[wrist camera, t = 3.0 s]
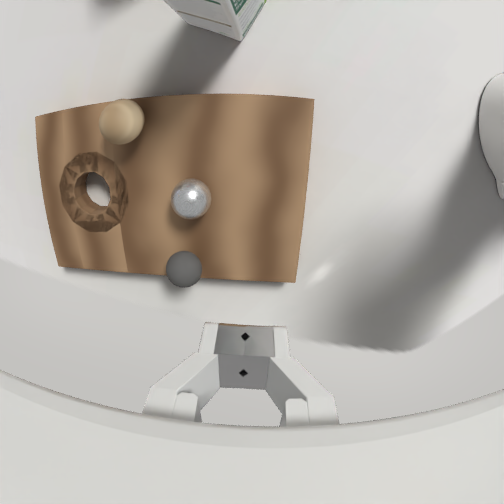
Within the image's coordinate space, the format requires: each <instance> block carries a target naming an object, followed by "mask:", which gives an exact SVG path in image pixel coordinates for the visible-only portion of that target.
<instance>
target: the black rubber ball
mask: <svg viewBox="0 0 504 504" xmlns="http://www.w3.org/2000/svg"><path fill="white" fill-rule="evenodd" d="M166 274H167V277H168V278H169V280H170V281H171V282H172V283H173V284H174V285H176V286H179V287H190V286H192V285H194V284H195V283H196V282H197V281H198V280H199V279H200V277H201V274H202V265H201V262H200V260H199V258H198V257H197V256H196V255H195V254H193V253H191V252H189V251H179V252H176V253H174V254H173V255H172V256H171V257H170V258H169V260H168V262H167V264H166Z"/></svg>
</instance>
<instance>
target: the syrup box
mask: <svg viewBox="0 0 504 504" xmlns="http://www.w3.org/2000/svg"><path fill="white" fill-rule="evenodd" d="M164 1H165V2H166V3H167V4H168V5H169V6H170V7H171V8H172V9H173V10H174V11H175V12H177V14H179V15H180V16H181V17H182V18H183V19H184V20H185V21H186V22H187V23H188V24H190V25H193V26H197V27H200V28H203V29H207V30H210V31H213V32H216V33H219V34H222V35H224V36H227V37H230V38H233V39H235V40H238V41H242V39H243V38H244V36H245V35H246V33H247V31H248V30H249V28H250V27H251V25H252V24H253V22H254V20H255V19H256V17H257V15H258V14H259V12H260V10H261V9H262V7H263V5H264V4H265V2H266V0H164Z"/></svg>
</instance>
